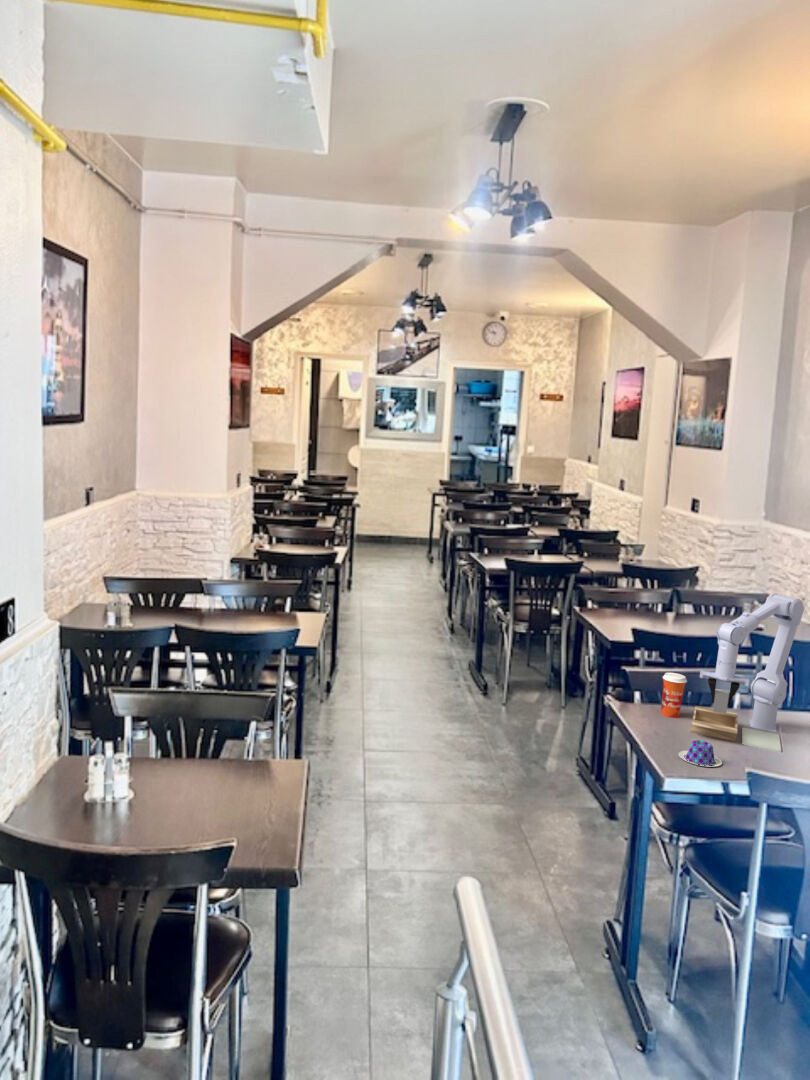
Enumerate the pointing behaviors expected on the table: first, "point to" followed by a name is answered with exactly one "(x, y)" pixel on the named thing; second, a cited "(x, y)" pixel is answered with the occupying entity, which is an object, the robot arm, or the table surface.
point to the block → (721, 701)
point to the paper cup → (672, 694)
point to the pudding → (700, 754)
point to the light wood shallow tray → (714, 723)
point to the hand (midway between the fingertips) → (720, 703)
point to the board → (761, 739)
